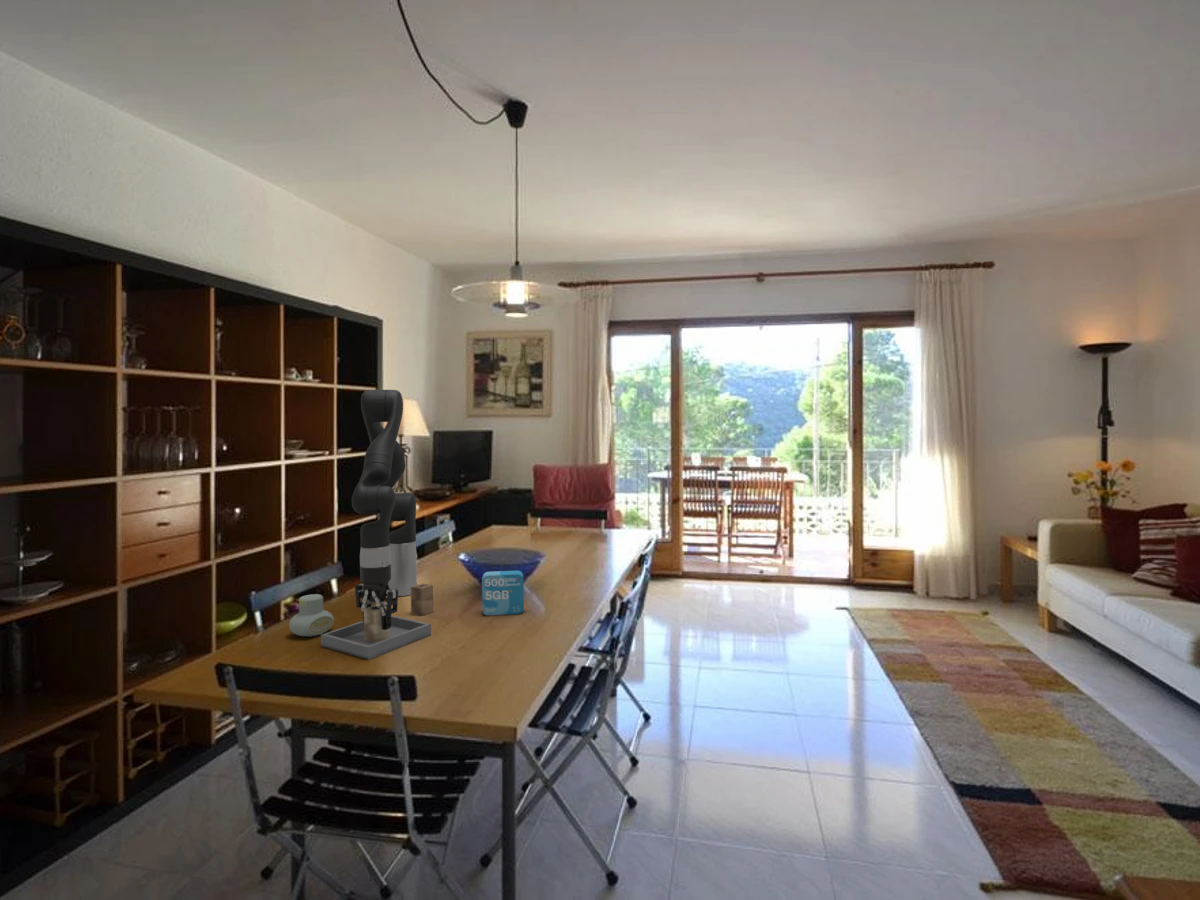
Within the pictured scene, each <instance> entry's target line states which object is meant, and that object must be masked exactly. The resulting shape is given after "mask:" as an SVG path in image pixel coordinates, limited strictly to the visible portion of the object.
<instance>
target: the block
mask: <svg viewBox="0 0 1200 900" xmlns="http://www.w3.org/2000/svg"><path fill="white" fill-rule="evenodd" d="M384 608H385V610H387V608H386V606H384ZM382 616H383V615H382V613H381V610H380V608H378V607H377V604H376V605H372V606H371V607H368V608H365V609H364V639H365V640H369V641H372V642H379V641H381V640H384V639H387V638H390V628H389V629H387V630H382Z"/></svg>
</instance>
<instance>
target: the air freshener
mask: <svg viewBox="0 0 1200 900" xmlns="http://www.w3.org/2000/svg"><path fill="white" fill-rule="evenodd" d="M334 622H335V619H334V616H333V614H332V613H331V612H330V611H327V610H325V609H324V596H323V594H319V593H313V594H311V593H310V594H306V595H302V596H301V597H299V598H298V613H296V614H295V615H294V616H293V617H291V618H290V621H289V623H288V629H289V630H290V631H291V633H293V634H294V635H297V636H299V637H307V638H310V637H311V638H313V637H318V635H319V636H321V635H322V634H325V633H327V632H328V631H329V630H330V629H331V628H332V626H333V625H334ZM312 636H313V637H312Z"/></svg>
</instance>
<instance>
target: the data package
mask: <svg viewBox="0 0 1200 900" xmlns="http://www.w3.org/2000/svg"><path fill="white" fill-rule="evenodd" d="M481 594H482V595H481V600H482V607H481V608H482V613H483V614H484V615H485V616H488V617H489V616H504V615H505V616H506V615H508V616H509V615H520V614H522V613H523V612H524V608H525V605H524V603H525V602H524V601H525V599H524V598H525V597H524V596H525V594H524V573H523V572H522V571H520V570H499V571H498V570H497V571H495V570H494V571H486V572H484V573H483V575H482V577H481Z"/></svg>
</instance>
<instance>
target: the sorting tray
mask: <svg viewBox="0 0 1200 900" xmlns="http://www.w3.org/2000/svg"><path fill="white" fill-rule="evenodd" d="M431 635H432V626H431V623H427V622H423V621H419V620H414V619H410V618H405V617H401V616H397V615H393V614H391V627H390V638H387V639H384V640H381V641H379V642H372V641H369V640H365V639H364V624H363V620H362V621H358V622H355V623H353V624H350V625H347V626H343V627H340V628H337V629H334V630H331V631H327V632H324V633H323V634H321V635H320V647H321V648H325V649H328V650H329V649H330V650H332V651H336V652H339V653H343V654H347V655H351V656H353V657H357V658H360V659H364V660H368V661H369V660H372V659H374V658H377V657H379V656H382V655H385V654H386V653H389V652H392V651H395V650H397V649H399V648H402V647H405V646H407V645H409V644H412V643H415V642H418V641H419V640H422V639H426V638H427V637H430V636H431Z"/></svg>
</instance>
